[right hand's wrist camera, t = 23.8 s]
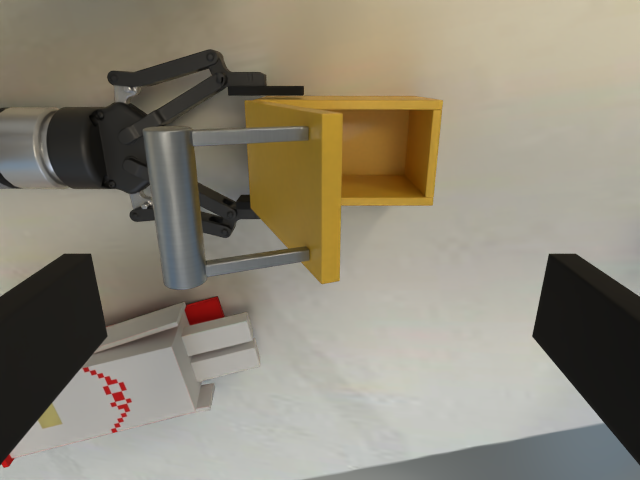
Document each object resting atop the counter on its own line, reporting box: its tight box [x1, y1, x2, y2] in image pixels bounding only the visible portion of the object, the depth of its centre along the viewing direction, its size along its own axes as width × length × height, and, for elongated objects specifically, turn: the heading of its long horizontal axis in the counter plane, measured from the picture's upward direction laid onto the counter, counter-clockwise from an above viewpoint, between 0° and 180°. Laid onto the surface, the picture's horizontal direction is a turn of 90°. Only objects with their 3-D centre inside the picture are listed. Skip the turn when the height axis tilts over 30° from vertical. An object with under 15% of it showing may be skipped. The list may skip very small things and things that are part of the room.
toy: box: [2, 296, 260, 468], centre depth 50 cm, size 12×13×30 cm
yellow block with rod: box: [143, 100, 343, 290], centre depth 27 cm, size 16×9×9 cm
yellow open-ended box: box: [255, 96, 443, 206], centre depth 41 cm, size 16×9×10 cm, turn 90°
